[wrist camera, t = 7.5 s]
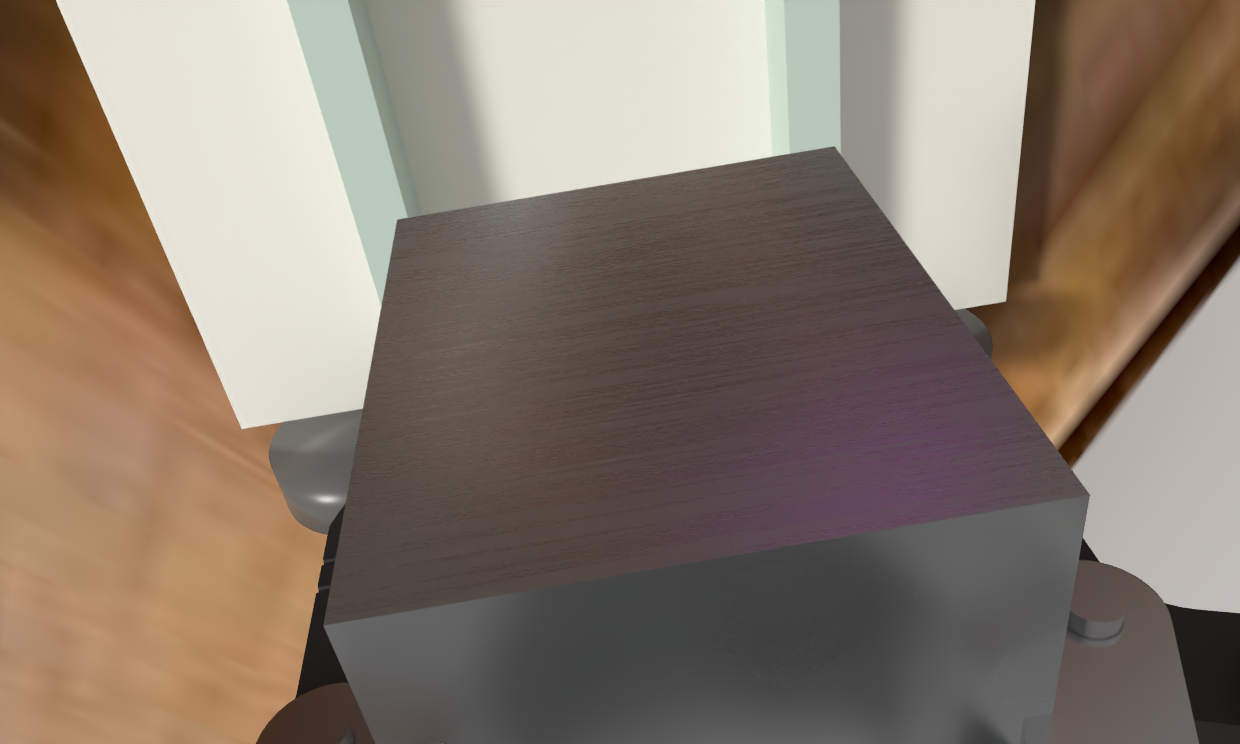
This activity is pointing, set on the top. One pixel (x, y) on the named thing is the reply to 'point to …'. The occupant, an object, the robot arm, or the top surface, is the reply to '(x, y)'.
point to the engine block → (694, 480)
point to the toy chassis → (515, 149)
